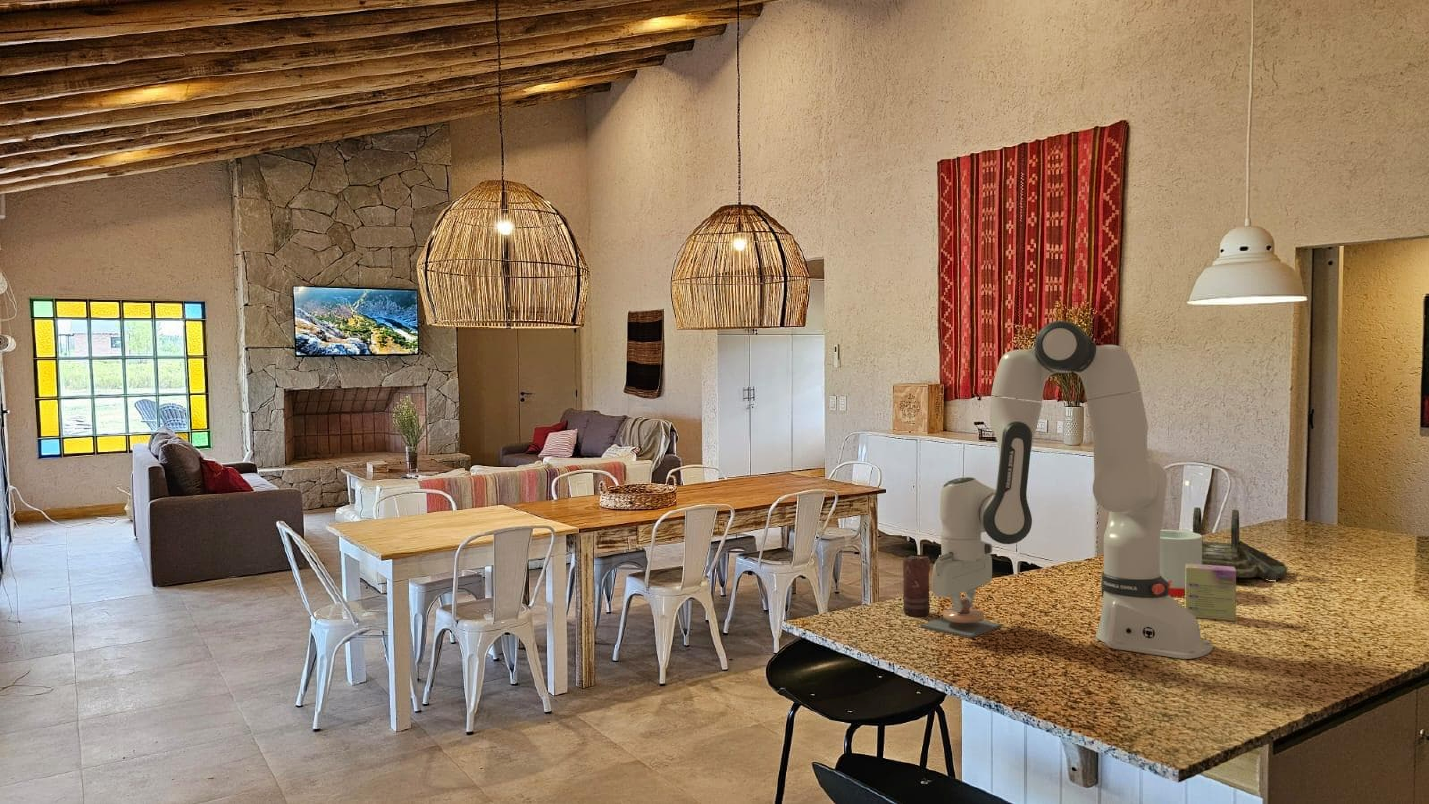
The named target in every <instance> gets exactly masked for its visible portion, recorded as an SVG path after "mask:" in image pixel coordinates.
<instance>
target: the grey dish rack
mask: <svg viewBox="0 0 1429 804" xmlns="http://www.w3.org/2000/svg"><path fill="white" fill-rule="evenodd" d="M1239 513H1240V512H1239V510H1238V509H1232V511H1231V519H1230V520H1231V523H1230V535H1231V536H1230V537H1231V538H1230V543H1226V542H1215V541H1204V540H1203V538H1202V565H1217V566H1232V567H1235V569H1236V578H1255V577H1257V578H1261V579H1262V580H1264V579H1268V580H1277V581H1278V580H1279V579H1282V578H1285V577H1286V575H1287V573H1288V567H1287V566H1286V564H1285V563H1283V562H1281V561H1279V560H1277V558H1276V559H1275V558H1273V557H1272V556H1270V555H1268V553H1267V552H1266V551H1261V550H1258V549H1257V548H1254V547H1253V546H1250V545H1248V544H1246V543H1245V542H1243V541H1241V540H1240V514H1239ZM1202 517H1203V516H1202V509H1201V507H1194V509H1193V515H1192V532H1194V533H1197V534H1200V535H1202V536H1203V534H1202V533H1203V531H1202V530H1203V529H1202V527H1203V523H1202V521H1203V519H1202Z"/></svg>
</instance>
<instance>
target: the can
mask: <svg viewBox="0 0 1429 804" xmlns="http://www.w3.org/2000/svg"><path fill="white" fill-rule="evenodd" d="M930 561H931V560H930V557H928V556H927V555H924V554H906V555H904V557H903V559H902V568H903V570H902V575H903V576H902V581H903V582H902V585H903V587H902V588H903V589H902V590H903V591H902V592H903V613H904V614H905V616H908V617H913V618H914V617H915V618H916V617H917V618H918V617H919V618H921V617H926V616H928V615H929V614H930V570H931V562H930Z"/></svg>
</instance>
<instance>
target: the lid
mask: <svg viewBox="0 0 1429 804" xmlns="http://www.w3.org/2000/svg"><path fill="white" fill-rule="evenodd" d="M960 602H961V604H963V611H962V612H959V613H958V612H954V611H953V607H952V608H947V609H945V610H943V611H942V617H943V619H945V620H947V621H950V622H957V623H975V622H980V621H982V620H984V619H985V613H984V612H983V611H982V610H980V609H976V608H970V609H969V599H966V598H965V597H964V598H963V597H960ZM984 621H985V620H984Z"/></svg>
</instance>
